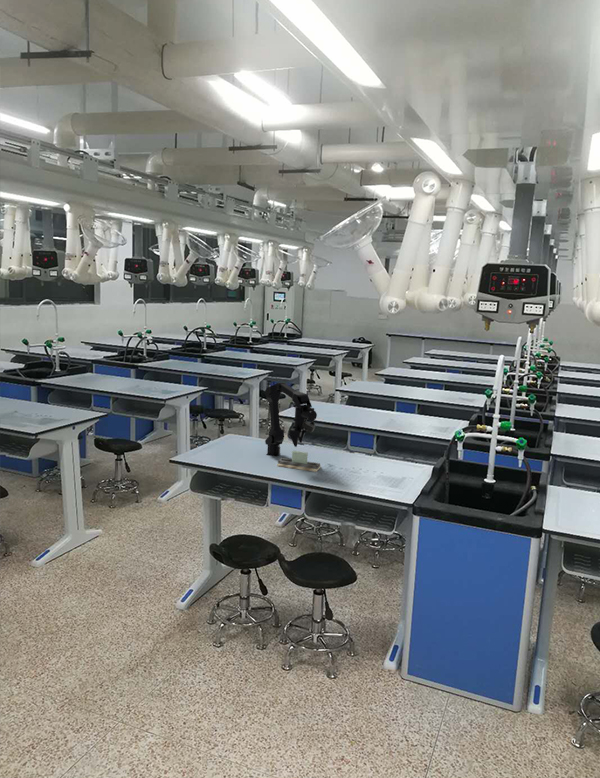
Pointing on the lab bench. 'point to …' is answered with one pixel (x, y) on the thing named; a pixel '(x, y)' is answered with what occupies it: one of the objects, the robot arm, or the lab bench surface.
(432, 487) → the lab bench surface
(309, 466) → the track
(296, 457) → the door panel
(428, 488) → the lab bench surface
